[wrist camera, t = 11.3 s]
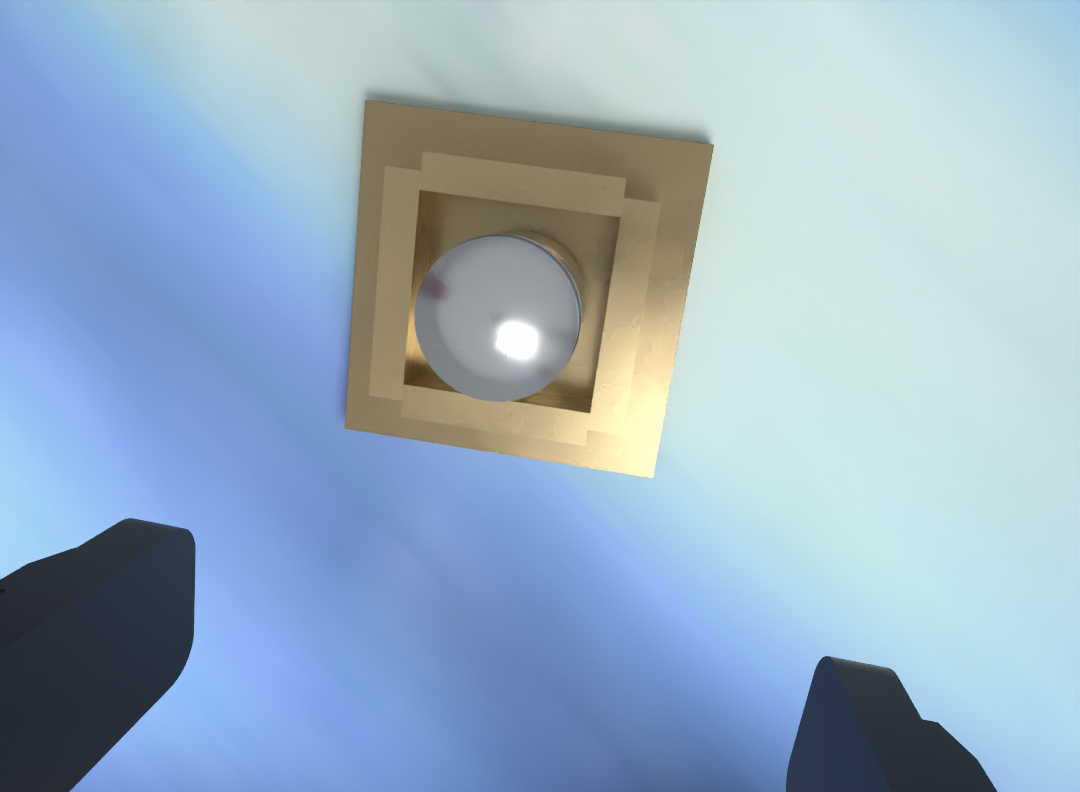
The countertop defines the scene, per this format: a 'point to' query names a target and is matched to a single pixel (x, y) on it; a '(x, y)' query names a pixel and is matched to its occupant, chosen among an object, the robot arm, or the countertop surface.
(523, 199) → the collar
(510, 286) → the cylinder
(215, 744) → the countertop surface
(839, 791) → the robot arm
